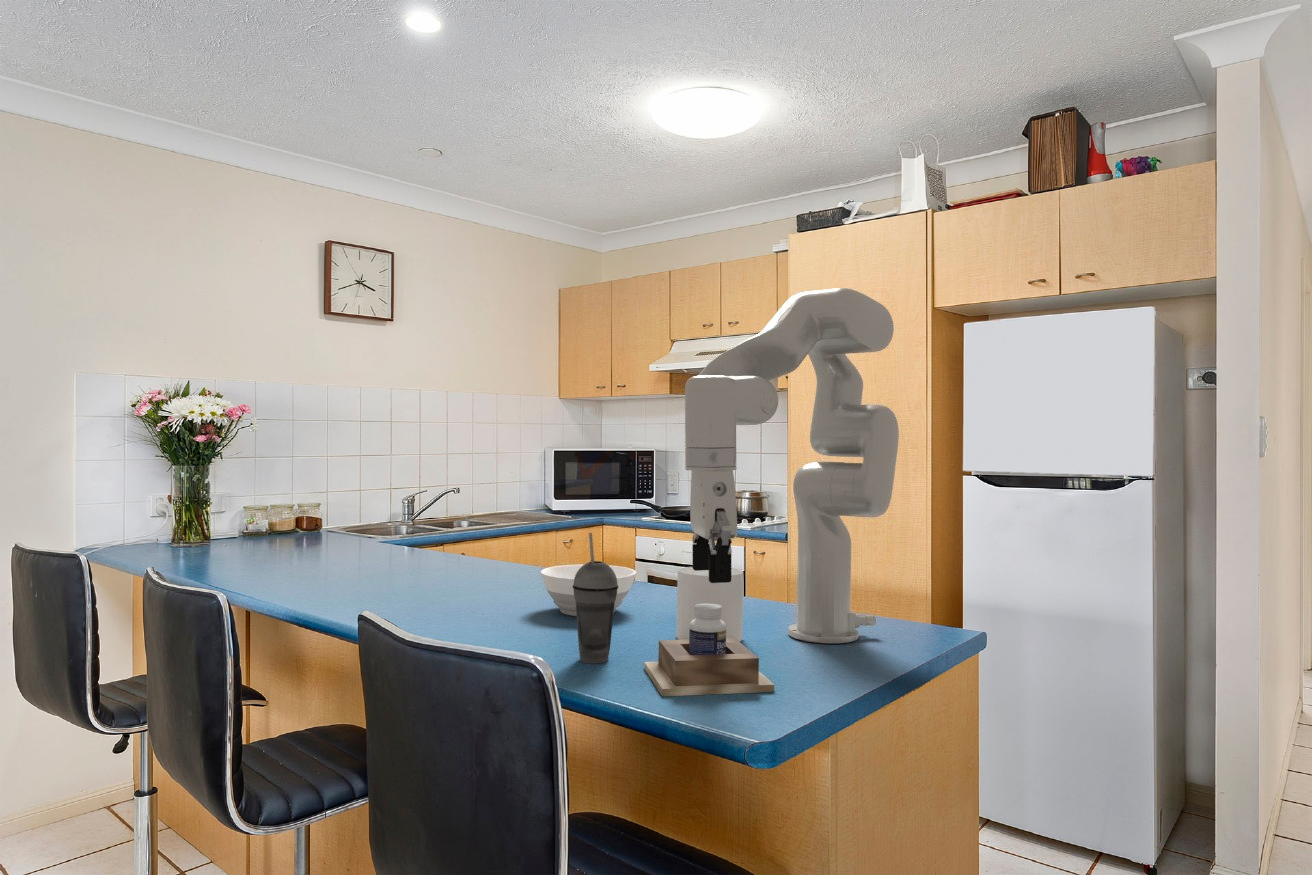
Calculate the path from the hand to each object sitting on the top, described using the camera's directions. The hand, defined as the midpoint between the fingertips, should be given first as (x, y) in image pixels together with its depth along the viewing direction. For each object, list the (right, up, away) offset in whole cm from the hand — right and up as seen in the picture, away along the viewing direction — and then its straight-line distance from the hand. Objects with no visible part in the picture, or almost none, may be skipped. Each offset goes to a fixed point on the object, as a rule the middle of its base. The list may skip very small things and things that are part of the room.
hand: (711, 575), depth 121 cm
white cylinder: (+1, -16, +25) cm, 30 cm away
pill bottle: (-1, -14, 0) cm, 14 cm away
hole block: (-1, -15, -1) cm, 15 cm away
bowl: (-22, -15, +46) cm, 53 cm away
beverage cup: (-18, -15, +9) cm, 25 cm away
